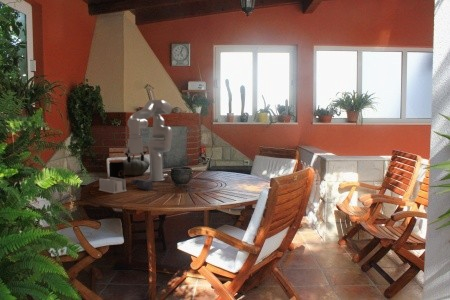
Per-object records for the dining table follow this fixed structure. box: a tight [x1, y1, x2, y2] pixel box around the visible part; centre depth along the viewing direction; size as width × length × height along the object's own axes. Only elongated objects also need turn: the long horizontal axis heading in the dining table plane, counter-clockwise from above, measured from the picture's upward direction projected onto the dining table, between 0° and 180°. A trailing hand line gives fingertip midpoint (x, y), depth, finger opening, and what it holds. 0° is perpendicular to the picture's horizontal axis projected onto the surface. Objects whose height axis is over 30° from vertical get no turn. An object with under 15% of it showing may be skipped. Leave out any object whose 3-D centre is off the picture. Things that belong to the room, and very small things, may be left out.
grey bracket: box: [131, 178, 154, 191], centre depth 282 cm, size 7×14×6 cm, turn 48°
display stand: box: [98, 176, 128, 194], centre depth 278 cm, size 10×18×8 cm, turn 48°
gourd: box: [123, 154, 150, 177], centre depth 345 cm, size 25×25×17 cm
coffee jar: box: [108, 158, 126, 179], centre depth 299 cm, size 11×11×18 cm
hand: (135, 161), depth 282 cm, fingers open, 9 cm apart
